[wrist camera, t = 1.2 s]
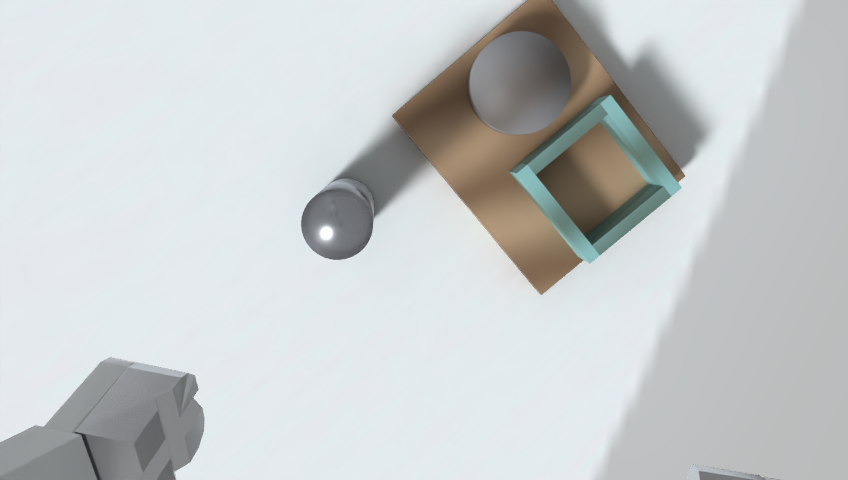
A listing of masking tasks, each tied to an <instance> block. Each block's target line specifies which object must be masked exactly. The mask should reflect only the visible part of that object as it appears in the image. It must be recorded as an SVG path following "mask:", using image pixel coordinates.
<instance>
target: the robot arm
mask: <svg viewBox="0 0 848 480" xmlns="http://www.w3.org/2000/svg"><path fill="white" fill-rule="evenodd" d="M197 391H198V386H197V382H196V378H195V375H192V374H189V373H185V372H180V371H176V370H171V369H166V368H161V367H157V366H152V365H147V364H142V363H138V362H131V361H126V360H121V359H117V358H112V357H110V358H108V359H106V360H104V361H102V362H101V363H99V365H98V366H97V367H96V368H95V369H94V370H93V371H92V372H91V374H90V375H89V376H88V377H87V378H86V379H85V380H84V382H83V383H82V384H81V385H80V386H79V387H78V388H77V390H76V391H75V392H74V393H73V394H72V395H71V396H70V397H69V399H68V400H67V401H66V402H65V403H64V404H63V405H62V407H61V408H60V409H59V410H58V411H57V412H56V413H55V414H54V416H53V417H52V418H51V419H50V420H49V421H48V422H47V424H46V425H45V426H44V427H42V426H34V427H31V428H29V429H27V430H25V431H23V432H21V433H19V434H17V435H15V436H13V437H11V438H9V439H7V440H5V441H3V442H1V443H0V480H176V475H175V471H176V470H178V469H180V468H181V467H183V466H185V465H186V464H188V463H190V462H191V460H192V458H193V456H194V455H195V453H196V451H197V450H198V448H199V445H200V441H201V438H202V435H203V432H204V414H203V409H202V407H201V406H200V405H199V404H198V403H197V402H196V401H195V400H194V398H193V397H194V395H195V394H196V392H197ZM685 480H779V479H773V478H768V477H761V476H759V475H753V474H747V473H741V472H735V471H729V470H724V469H718V468H712V467H706V466H700V465H693V466H692V467H691V468H690V469H689V471H688V474H687V476H686V479H685Z"/></svg>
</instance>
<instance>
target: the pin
mask: <svg viewBox="0 0 848 480" xmlns="http://www.w3.org/2000/svg"><path fill="white" fill-rule="evenodd" d="M373 217H374V200H373V197H372V194H371V193H370V191H369V189H368V188H367V187H366V186H365V185H364V184H362V183H361V182H359V181H357V180H354V179H349V178H343V179H338V180H335V181H333V182H331V183H330V184H329V185H327V186H326V187H325V188H324V189H323V190H322V191H320V192H319V193H318V194H317V195H316V196H315V197H314V198H313V199H311V200H310V202H309V203H308V204H307V206H306V208H305V210H304V212H303V215H302V221H301V227H302V233H303V236H304V238H305V241H306V242H307V244H308V245H309V246H310V248H311V249H312V250H313V251H315V252H316V253H317V254H319V255H321V256H323V257H325V258H329V259H334V260H340V259H346V258H350V257H352V256H354V255H356V254H357V253H359V252H360V251H361V250H362V249H363V248H364V247H365V246H366V245H367V243H368V241H369V239H370V237H371V234H372V229H373Z"/></svg>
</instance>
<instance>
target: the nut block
mask: <svg viewBox="0 0 848 480" xmlns="http://www.w3.org/2000/svg"><path fill="white" fill-rule="evenodd" d="M392 117H393V118H394V119H395V120H396V121H397V123H398V124H399V125H400V126H401V127H402V129H403V130H404V131H405V132H406V134H407V135H408V136H409V137H410V138H411V140H412V141H413V142H414V143H415V144H416V146H417V147H418V148H419V149H420V150H421V152H422V153H423V154H424V155H425V156H426V158H427V159H428V160H429V161H430V162H431V164H432V165H433V166H434V167H435V168H436V170H437V171H438V172H439V173H440V175H441V176H442V177H443V178H444V179H445V181H446V182H447V183H448V184H449V185H450V187H451V188H452V189H453V190H454V191H455V193H456V194H457V195H458V196H459V197H460V199H461V200H462V201H463V202H464V203H465V205H466V206H467V207H468V208H469V209H470V211H471V212H472V213H473V214H474V216H475V217H476V218H477V219H478V220H479V222H480V223H481V224H482V225H483V226H484V228H485V229H486V230H487V231H488V232H489V234H490V235H491V236H492V237H493V238H494V240H495V241H496V242H497V243H498V244H499V246H500V247H501V248H502V249H503V250H504V252H505V253H506V254H507V255H508V257H509V258H510V259H511V260H512V261H513V263H514V264H515V265H516V266H517V267H518V269H519V270H520V271H521V272H522V273H523V275H524V276H525V277H526V278H527V279H528V281H529V282H530V283H531V284H532V285H533V287H534V288H535V289H536V290H537V291H538V292H539V293H540V294H541V295H542V294H543V293H544V292H546V291H547V290H548V289H549V288H550V287H552V286H553V285H554V284H555V283H556V282H558V281H559V280H560V279H561V278H562V277H564V276H565V275H566V274H567V273H569V272H570V271H571V270H572V269H573V268H575V267H576V266H577V265H578V264H579V263H581V262H582V261H583V260H584V261H586V262H588V263H591V262H592V261H594V260H595V259H596V258H597V257H598V256H600V255H601V254H602V253H603V252H605V251H606V250H607V249H608V248H609V247H611V246H612V245H613V244H614V243H615V242H617V241H618V240H619V239H620V238H621V237H623V236H624V235H625V234H626V233H628V232H629V231H630V230H631V229H632V228H634V227H635V226H636V225H637V224H638V223H640V222H641V221H642V220H643V219H644V218H646V217H647V216H648V215H649V214H651V213H652V212H653V211H654V210H655V209H657V208H658V207H659V206H660V205H661V204H663V203H664V202H665V201H666V200H668V199H669V198H670V197H671V196H672V195H674V194H675V193H676V192H677V191H678V190H680V189H681V186H680V185H679V184H678V182H679V181H680V180H681V179H682V178H684V177H685V175H684V173H683V172H682V171H681V169H680V168H679V167H678V165H677V164H676V163H675V162H674V160H673V159H672V158H671V156H670V155H669V154H668V152H667V151H666V150H665V148H664V147H663V146H662V144H661V143H660V142H659V140H658V139H657V138H656V137H655V135H654V134H653V133H652V131H651V130H650V129H649V127H648V126H647V125H646V123H645V122H644V121H643V119H642V118H641V117H640V115H639V114H638V113H637V112H636V110H635V109H634V108H633V106H632V105H631V104H630V102H629V101H628V100H627V98H626V97H625V96H624V94H623V93H622V92H621V91H620V89H619V88H618V87H617V85H616V84H615V83H614V81H613V80H612V79H611V77H610V76H609V75H608V73H607V72H606V71H605V69H604V68H603V67H602V66H601V64H600V63H599V62H598V60H597V59H596V58H595V56H594V55H593V54H592V52H591V51H590V50H589V48H588V47H587V46H586V44H585V43H584V42H583V41H582V39H581V38H580V37H579V35H578V34H577V33H576V31H575V30H574V29H573V27H572V26H571V25H570V23H569V22H568V21H567V19H566V18H565V17H564V16H563V14H562V13H561V12H560V10H559V9H558V8H557V6H556V5H555V4H554V2H553V1H552V0H527V1H526V2H525V3H524V4H523V5H521V6H520V7H519V8H518V9H517V10H515V11H514V12H513V13H512V14H511V15H510V16H508V17H507V18H506V19H505V20H504V21H503V22H501V23H500V24H499V25H498V26H497V27H496V28H494V29H493V30H492V31H491V32H490V33H488V34H487V35H486V36H485V37H484V38H483V39H481V40H480V41H479V42H478V43H477V44H476V45H474V46H473V47H472V48H471V49H470V50H468V51H467V52H466V53H465V54H464V55H463V56H461V57H460V58H459V59H458V60H457V61H456V62H454V63H453V64H452V65H451V66H450V67H448V68H447V69H446V70H445V71H444V72H443V73H441V74H440V75H439V76H438V77H437V78H436V79H434V80H433V81H432V82H431V83H430V84H429V85H427V86H426V87H425V88H424V89H423V90H421V91H420V92H419V93H418V94H417V95H416V96H414V97H413V98H412V99H411V100H410V101H409V102H407V103H406V104H405V105H404V106H403V107H401V108H400V109H399V110H398V111H397V112H396V113H394V114H393V115H392Z"/></svg>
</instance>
